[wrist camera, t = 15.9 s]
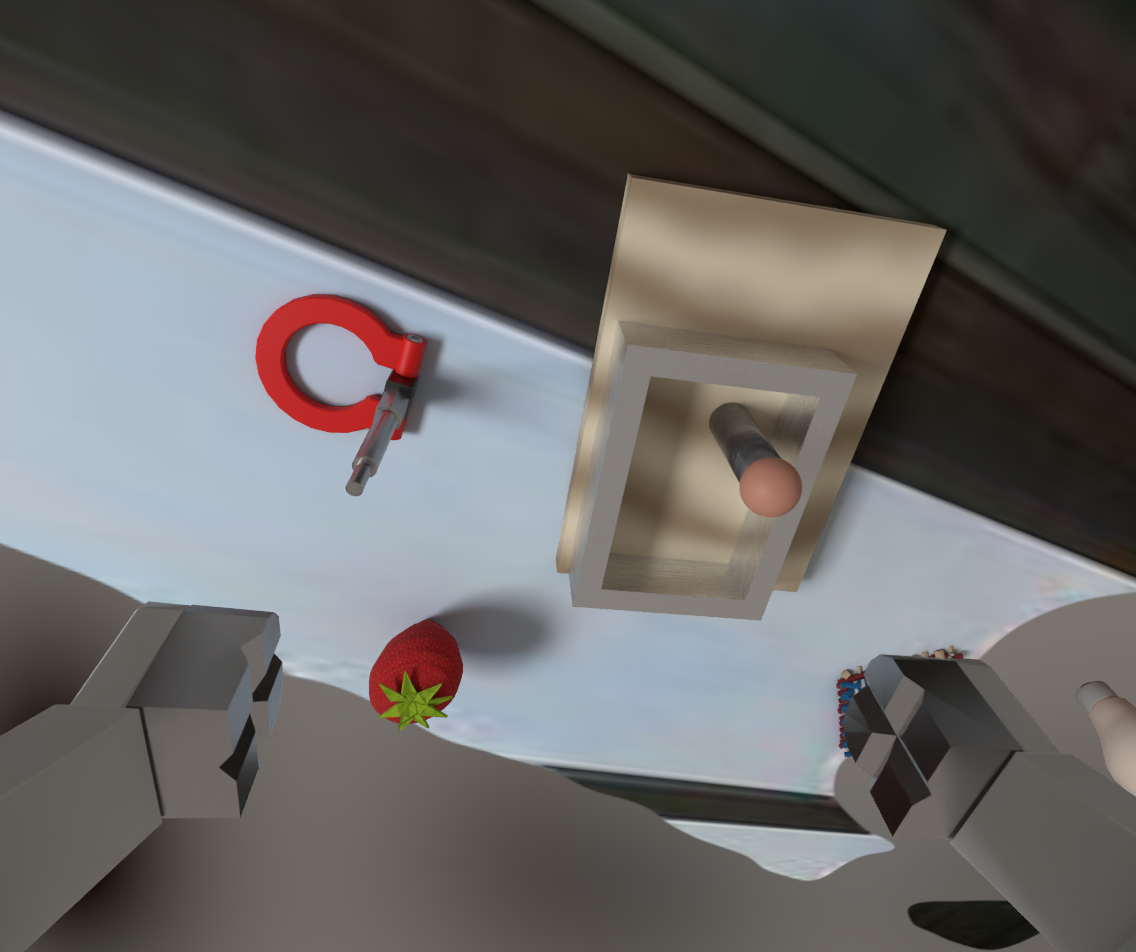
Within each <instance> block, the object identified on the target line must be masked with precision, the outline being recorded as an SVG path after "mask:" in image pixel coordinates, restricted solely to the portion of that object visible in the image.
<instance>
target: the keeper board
mask: <svg viewBox="0 0 1136 952" xmlns="http://www.w3.org/2000/svg"><path fill="white" fill-rule="evenodd" d="M946 231H947V230H946V229H943V228H940V227H937V226H935V225H931V224H925V223H919V222H913V221H907V220H901V219H895V218H889V217H883V216H877V215H871V214H865V213H859V212H853V211H847V210H841V209H835V208H829V207H823V206H817V205H811V204H805V203H799V202H793V201H787V200H781V199H775V198H769V197H763V196H757V195H751V194H746V193H740V192H734V191H728V190H722V189H716V188H710V187H704V186H698V185H692V184H686V183H680V182H674V181H668V180H662V179H656V178H650V177H644V176H638V175H632V174H628V178H627V183H626V188H625V194H624V199H623V204H622V210H621V215H620V220H619V226H618V231H617V236H616V242H615V247H614V252H613V258H612V263H611V268H610V274H609V279H608V284H607V290H606V295H605V300H604V306H603V311H602V316H601V322H600V327H599V332H598V338H597V343H596V348H595V354H594V359H593V364H592V370H591V375H590V380H589V386H588V391H587V396H586V402H585V407H584V412H583V418H582V423H581V428H580V434H579V439H578V444H577V450H576V455H575V460H574V466H573V471H572V476H571V482H570V487H569V492H568V498H567V503H566V508H565V514H564V519H563V524H562V530H561V535H560V540H559V546H558V551H557V556H556V566H557V572H558V573H569V571H568V567H569V562H570V557H571V552H572V547H573V542H574V537H575V532H576V527H577V522H578V517H579V512H580V507H581V502H582V497H583V491H584V486H585V481H586V476H587V471H588V466H589V461H590V456H591V451H592V446H593V441H594V436H595V431H596V426H597V421H598V416H599V411H600V406H601V401H602V396H603V391H604V386H605V381H606V376H607V371H608V366H609V361H610V356H611V351H612V346H613V341H614V336H615V331H616V326H617V321H625V322H632V323H640V324H647V325H654V326H662V327H669V328H677V329H684V330H691V331H699V332H706V333H714V334H721V335H729V336H736V337H743V338H751V339H758V340H766V341H773V342H780V343H788V344H795V345H803V346H810V347H817V348H825V349H829V350H830V351H831V352H832V353H833V354H835V355H836V356H837V357H838V358H839V359H840V360H841V361H843V362H844V363H845V364H846V365H847V366H848V367H849V368H851V369H852V370H853V371H854V372H855V373H856V374H857V376H856V378H855V381H854V384H853V386H852V389H851V391H850V394H849V396H848V399H847V401H846V404H845V407H844V409H843V412H842V414H841V417H840V419H839V422H838V424H837V427H836V430H835V432H834V435H833V437H832V440H831V442H830V445H829V447H828V450H827V453H826V455H825V458H824V460H823V463H822V465H821V468H820V470H819V473H818V476H817V478H816V481H815V483H814V486H813V488H812V491H811V493H810V496H809V499H808V501H807V504H806V506H805V509H804V511H803V514H802V517H801V519H800V522H799V524H798V527H797V529H796V532H795V534H794V537H793V540H792V542H791V545H790V547H789V550H788V552H787V555H786V557H785V560H784V563H783V565H782V568H781V570H780V573H779V575H778V578H777V580H776V583H775V586H774V588H773V590H780V591H793V592H797V590H798V588H799V585H800V583H801V581H802V578H803V576H804V573H805V571H806V569H807V566H808V564H809V561H810V559H811V556H812V554H813V552H814V549H815V547H816V544H817V542H818V540H819V537H820V535H821V532H822V530H823V528H824V525H825V523H826V520H827V518H828V515H829V513H830V511H831V508H832V506H833V503H834V501H835V499H836V496H837V494H838V491H839V489H840V486H841V484H842V482H843V479H844V477H845V474H846V472H847V470H848V467H849V465H850V462H851V460H852V458H853V455H854V453H855V450H856V448H857V445H858V443H859V441H860V438H861V436H862V433H863V431H864V429H865V426H866V424H867V421H868V419H869V417H870V414H871V412H872V409H873V407H874V404H875V402H876V400H877V397H878V395H879V392H880V390H881V388H882V385H883V383H884V380H885V378H886V375H887V373H888V371H889V368H890V366H891V363H892V361H893V359H894V356H895V354H896V351H897V349H898V347H899V344H900V342H901V339H902V337H903V334H904V332H905V330H906V327H907V325H908V322H909V320H910V318H911V315H912V313H913V310H914V308H915V305H916V303H917V301H918V298H919V296H920V293H921V291H922V289H923V286H924V284H925V281H926V279H927V277H928V274H929V272H930V269H931V267H932V264H933V262H934V260H935V257H936V255H937V252H938V250H939V248H940V245H941V243H942V240H943V238H944V236H945V233H946ZM786 395H787V393H781V392H773V391H765V390H757V389H749V388H741V387H733V386H725V385H717V384H709V383H701V382H693V381H685V380H676V379H668V378H660V377H652V376H651V377H650V382H649V386H648V390H647V395H646V399H645V403H644V407H643V412H642V416H641V420H640V425H639V429H638V433H637V437H636V442H635V446H634V450H633V455H632V459H631V463H630V467H629V472H628V476H627V480H626V485H625V489H624V493H623V497H622V502H621V506H620V510H619V515H618V519H617V523H616V527H615V532H614V536H613V540H612V545H611V549H610V553H612V554H623V555H635V556H647V557H658V558H670V559H682V560H693V561H705V562H717V563H729V561H730V559H731V556H732V553H733V550H734V547H735V544H736V541H737V538H738V535H739V532H740V529H741V526H742V524H743V521H744V518H745V515H746V512H747V509H748V508H749V509H750V510H751V511H752V512H754V513H755V514H757V515H760V516H763V517H779V516H782V515H785V514H786V513H788V512H790V511H791V510H792V509H793V508H794V507H795V506H796V505H797V503H798V502H799V500H800V497H801V494H802V481H801V478H800V475H799V473H798V472H797V470H796V469H795V468H794V467H793V466H792V465H791V464H790V463H788V462H787V461H785V460H783V459H781V457H780V456H779V455H778V453H777V452H776V450H775V449H774V447H773V446H772V445H771V443H770V442H771V439H772V436H773V433H774V430H775V427H776V424H777V421H778V418H779V415H780V413H781V410H782V407H783V404H784V401H785V398H786Z"/></svg>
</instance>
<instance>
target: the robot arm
mask: <svg viewBox="0 0 1136 952" xmlns="http://www.w3.org/2000/svg"><path fill="white" fill-rule="evenodd" d="M280 636H281V634H280V624H279V616H278V615H277V614H276V613H274V612H265V611H254V610H244V609H233V608H222V607H211V606H200V605H191V606H189V605H179V604H169V603H159V602H147V603H145V604H144V605H142V606H141V607H139V608H138V609H137V610H136V611H135V612H134V614H133V615H132V617H131V618H130V619H129V621H128V622H127V624H126V625H125V627H124V628H123V630H122V631H121V632H120V634H119V635H118V637H117V638H116V640H115V641H114V643H113V644H112V645H111V647H110V648H109V650H108V651H107V652H106V654H105V655H104V657H103V658H102V660H101V661H100V662H99V664H98V665H97V667H96V668H95V670H94V671H93V672H92V674H91V675H90V677H89V678H88V680H87V681H86V682H85V684H84V685H83V687H82V688H81V690H80V691H79V693H78V694H77V695H76V697H75V698H74V700H73V701H72V703H71V704H70V705H54V706H52V707H50V708H48V709H47V710H45V711H43V712H41V713H40V714H38V715H36V716H35V717H33V718H31V719H29V720H28V721H26V722H24V723H22V724H21V725H19V726H17V727H15V728H14V729H12V730H10V731H8V732H7V733H5V734H3V735H1V736H0V952H24V951H25V950H26V949H27V948H28V947H29V946H30V945H31V944H33V943H34V942H35V941H36V940H37V939H38V938H39V937H40V936H41V935H42V934H43V933H44V932H45V931H46V930H48V929H49V927H51V926H52V925H53V924H54V923H55V922H56V921H57V920H58V919H59V918H60V917H61V916H62V915H64V914H65V912H67V911H68V910H69V909H70V908H71V907H72V906H73V905H74V904H75V903H76V902H77V901H79V900H80V899H81V898H82V897H83V896H84V895H85V894H86V893H87V892H88V891H89V890H90V889H91V888H93V887H94V886H95V885H96V884H97V883H98V882H99V881H100V880H101V879H102V878H103V877H104V876H105V875H106V874H107V873H109V872H110V871H111V870H112V869H113V868H114V867H115V866H116V865H117V864H118V863H119V862H120V861H121V860H123V859H124V858H125V857H126V856H127V855H128V854H129V853H130V852H131V851H132V850H133V849H134V848H135V847H137V846H138V845H139V844H140V843H141V842H142V841H143V840H144V839H145V838H146V837H147V836H148V835H149V834H151V832H152V831H154V830H155V829H156V828H157V827H158V826H159V825H160V824H161V823H162V818H241V815H242V812H243V809H244V807H245V804H246V801H247V799H248V796H249V793H250V791H251V788H252V785H253V782H254V779H255V777H256V774H257V771H258V769H259V767H258V753H257V747H258V746H259V745H260V744H262V743H263V742H264V741H265V740H267V739H268V738H269V737H270V735H271V732H272V729H273V726H274V723H275V720H276V717H277V713H278V708H279V703H280V699H281V694H282V681H283V668H282V661H281V660H280V659H279V658H278V657H277V656H276V655H275V654H274V652H275V649H276V647H277V644H278V641H279V639H280ZM864 676H865V679H866V681H867V684H868V686H867V687H865V688H864V689H862V690H861V691H859V692H858V693H856V694H855V695H853V696H852V698H851V700H850V703H849V705H848V707H847V709H846V711H845V721H844V734H845V738H846V742H847V746H848V749H849V751H850V753H851V755H852V757H853V759H854V761H855V763H856V764H857V765H858V766H859V767H860V768H862V769H863V770H864V771H865V772H866V773H867V774H869V775H870V776H871V777H872V778H873V779H872V783H871V788H870V793H871V796H872V797H873V799H874V801H875V803H876V805H877V807H878V809H879V811H880V813H881V815H882V817H883V819H884V821H885V823H886V825H887V827H888V829H889V831H890V833H891V835H892V837H902V838H904V837H905V838H919V839H937V840H952V842H951V843H950V844H951V845H952V846H953V847H954V848H955V849H956V850H957V851H958V852H959V853H960V854H961V855H962V856H963V857H964V858H965V859H966V860H967V861H968V862H969V863H970V864H971V865H972V866H974V868H975V869H976V870H977V871H978V872H980V874H981V875H983V877H984V878H986V880H988V881H989V882H990V883H991V884H992V885H993V886H994V887H995V888H996V889H997V890H998V891H999V892H1000V893H1001V894H1002V895H1003V896H1004V897H1005V898H1006V899H1007V900H1008V901H1009V902H1010V903H1011V904H1012V905H1013V906H1014V907H1015V908H1016V909H1017V910H1018V911H1019V912H1020V913H1021V914H1022V915H1023V916H1024V917H1025V918H1026V919H1027V920H1028V921H1029V922H1030V923H1031V924H1032V925H1033V926H1034V927H1035V928H1036V929H1037V930H1038V931H1039V932H1040V933H1041V934H1042V935H1043V936H1044V937H1045V938H1046V939H1047V940H1048V941H1049V942H1050V943H1051V944H1052V945H1053V946H1054V947H1055V948H1056V949H1057V950H1058V951H1059V952H1136V796H1134V795H1133V794H1131V793H1130V792H1128V791H1127V790H1125V789H1123V788H1122V787H1120V786H1119V785H1117V784H1116V783H1114V782H1113V781H1111V780H1110V779H1108V778H1107V777H1105V776H1104V775H1102V774H1101V773H1099V772H1098V771H1096V770H1094V769H1093V768H1091V767H1090V766H1088V765H1087V764H1085V763H1084V762H1082V761H1081V760H1079V759H1078V758H1076V757H1075V756H1073V755H1068V754H1061V753H1060V751H1059V750H1058V749H1057V748H1056V746H1055V745H1054V744H1053V743H1052V741H1051V740H1050V739H1049V738H1048V737H1047V735H1046V734H1045V733H1044V732H1043V730H1042V729H1041V728H1040V727H1039V725H1038V724H1037V723H1036V722H1035V721H1034V719H1033V718H1032V717H1031V716H1030V714H1029V713H1028V712H1027V711H1026V710H1025V708H1024V707H1023V706H1022V705H1021V703H1020V702H1019V701H1018V700H1017V698H1016V697H1015V696H1014V695H1013V694H1012V692H1011V691H1010V690H1009V689H1008V687H1007V686H1006V685H1005V684H1004V683H1003V682H1002V680H1001V679H1000V678H999V676H998V675H997V674H996V673H995V672H994V670H993V669H992V668H991V667H990V666H988V665H987V664H985V663H984V662H982V661H980V660H975V659H956V658H945V659H942V658H932V657H915V656H899V655H882V654H880V655H878V656H877V657H876V658H874V659H873V660H871V662H870V663H869V665H868V667H867V669H866V671H865V673H864Z"/></svg>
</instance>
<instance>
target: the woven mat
mask: <svg viewBox="0 0 1136 952" xmlns="http://www.w3.org/2000/svg"><path fill="white" fill-rule="evenodd" d="M954 653H955V651H954V646H950V647H949V650H948V654H944V651H943V650H940V651H935V652H934V654H933V655H932V656H931V657H932V658H942V659H945V658H956V659H962V658H963V655H962V654H961V653H960V654H954ZM921 657H928V651H926V652H922V654H921ZM864 673H865V672H864ZM864 673H863V672H862V666H858V667H857V675H854V676H850V675H851V674H850V673H849V672H848V671H847V670H845V671H843V672H842V673H841V679H840V680H838V683H837V688H839V689H841V691H838V695H839V696H841V698H839V703H840V705H839V709H838V713H839V714H841V713H842V716H841V717H839V719H840V721H841V722H839V724H840V726H843V727H842V728H840V732H841V733H842V734H840V738H841V739H842V740H840V744H839V747H840V748H841V749H842V748H843V747H844V748H845V749H846V750H848V752H844V754H845V757H850V756H852V755H851V753H850V751H849V749H848V746H847V742H846V738H845V734H844V721H845V711H846V709H847V707H848V705H849V703H850V700H851V698H852V696H853V695H855V694H856V693H858V692H859V691H861V690H862V689H864V688H865V687H867V686H868V684H867V681H866V679H865V676H864ZM849 676H850V677H849ZM850 682H852V683H850ZM849 688H851V689H849ZM841 703H842V704H841Z"/></svg>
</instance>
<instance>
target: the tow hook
mask: <svg viewBox="0 0 1136 952" xmlns="http://www.w3.org/2000/svg"><path fill="white" fill-rule="evenodd" d="M315 323H330V324H333V325H337V326H341V327H343V328H345V329H347V330H349V331H351V332H353V333H354V334H355V335H356V336H358V337H359V338H360V339H361V340H362V341H363V342H364V343H365V344H366V346H367V347H368V349H369V350H370V352H371V353H372V356H373V359H374V361H375V362H376V363H377V364H378V365H382V366H385V367H388V368H391V369H393V370H392V372H391V374H390V376H389V378H388V380H387V381H386V385H385V389H384V393H383V396H382V397H379V396H376V395H369V396H367V397H366V398H365V399H364V400H362V401H360V402H358V403H356V404H354V405H349V406H345V407H332V406H328V405H324V404H320V403H318V402H316V401H314V400H312V399H310V398H309V397H308V396H306V395H305V394H304V393H303V392H301V391H300V390H299V389H298V387H297V386H296V385H295V383H294V382H293V381H292V379H291V377H290V375H289V373H288V370H287V366H286V360H285V355H286V347H287V345H288V342H289V340H290V338H291V336H292V335H293V334H294V333H295V332H296V331H297V330H299V329H301V328H303V327H304V326H307V325H311V324H315ZM425 346H426V340H425V339H424V338H422V337H420V336H417V335H414V334H404V335H403V336H401V335H398V334H395V333H392V332H390V331H389V329H388V328H387V326H386V325H385V324H384V323H383V322H382V321H381V320H380V319H379V318H378V317H377V316H376V315H375V314H373V313H372V312H371V311H370V310H369V309H367V308H365V307H363V306H361V305H359V304H358V303H356V302H354V301H352V300H349V299H345V298H342V297H338V296H335V295H319V294H312V295H308V296H304V297H300V298H296V299H293V300H292V301H290V302H288V303H287V304H285V305H283V306H282V307H280V308H278V309H277V310H276V311H275V312H274V313H273V314H272V315H271V317H270V318H269V319H268V320H267V321H266V322H265V323H264V325H263V327H262V330H261V332H260V334H259V337H258V339H257V346H256V357H255V358H256V364H257V369H258V374H259V377H260V379H261V381H262V383H263V385H264V387H265V390H266V392H267V393H268V395H269V396H270V397H271V398H272V399H273V401H274V402H275V403H276V404H277V406H278V407H279V408H280V409H282V410H283V411H284V412H285V413H287V414H288V415H289V416H290V417H292V418H293V419H294V420H296V421H298V422H300V423H302V424H304V425H306V426H308V427H310V428H314V429H318V430H322V431H326V432H331V433H349V432H353V431H358V430H362V429H365V428H369V431H368V433H367V435H366V437H365V439H364V441H363V443H362V445H361V447H360V449H359V451H358V453H357V455H356V457H355V459H354V461H353V463H352V468H353V470H354V471H353V473H352V475H351V477H350V479H349V481H348V483H347V485H346V491H347V493H348V494H350V495H352V496H359V495H361V494H362V492H363V490H364V488H365V485H366V483H367V481H368V479H369V477H372V476H373V475H375V473H376V472H377V469H378V467H379V465H380V462H381V460H382V458H383V455H384V453H385V451H386V449H387V446H388V444H389V442H390V440H399V439H401V437H402V433H403V429H404V426H405V422H406V418H407V415H408V412H409V410H410V408H411V405H412V402H413V398H414V394H415V390H416V387H417V383H418V379H419V376H418V373H419V369H420V365H421V361H422V358H423V354H424V350H425Z"/></svg>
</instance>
